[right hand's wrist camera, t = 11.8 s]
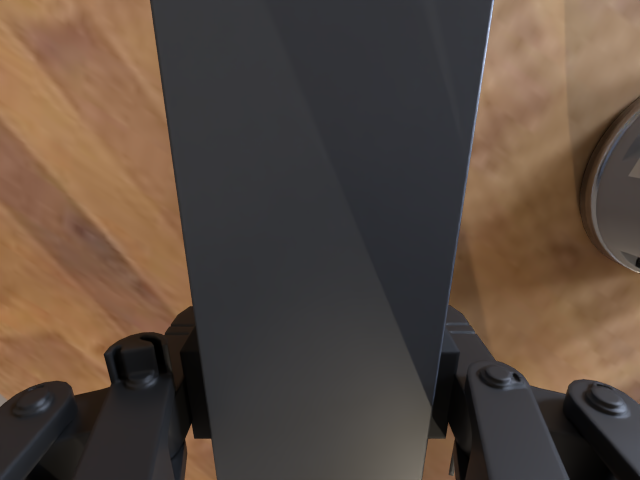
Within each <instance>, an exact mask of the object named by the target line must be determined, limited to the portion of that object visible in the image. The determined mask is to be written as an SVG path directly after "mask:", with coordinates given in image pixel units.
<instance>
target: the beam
mask: <svg viewBox="0 0 640 480" xmlns="http://www.w3.org/2000/svg"><path fill="white" fill-rule="evenodd" d="M150 3H151V10H152V18H153V25H154V32H155V39H156V46H157V53H158V61H159V68H160V75H161V82H162V89H163V96H164V103H165V111H166V118H167V125H168V132H169V139H170V146H171V154H172V161H173V168H174V175H175V182H176V189H177V196H178V204H179V211H180V218H181V225H182V232H183V239H184V247H185V254H186V261H187V268H188V275H189V282H190V289H191V297H192V304H193V311H194V318H195V325H196V332H197V340H198V347H199V354H200V361H201V368H202V375H203V383H204V390H205V397H206V404H207V411H208V418H209V425H210V433H211V440H212V447H213V454H214V461H215V468H216V476H217V480H422V476H423V469H424V462H425V456H426V449H427V442H428V436H429V429H430V422H431V416H432V409H433V402H434V396H435V389H436V383H437V376H438V369H439V363H440V356H441V349H442V343H443V336H444V329H445V323H446V316H447V310H448V303H449V296H450V290H451V283H452V276H453V270H454V263H455V256H456V250H457V243H458V236H459V230H460V223H461V217H462V210H463V203H464V197H465V190H466V183H467V177H468V170H469V163H470V157H471V150H472V143H473V137H474V130H475V124H476V117H477V110H478V104H479V97H480V90H481V84H482V77H483V70H484V64H485V57H486V51H487V44H488V37H489V31H490V24H491V17H492V11H493V4H494V0H150Z"/></svg>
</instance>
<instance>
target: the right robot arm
mask: <svg viewBox="0 0 640 480" xmlns="http://www.w3.org/2000/svg"><path fill="white" fill-rule="evenodd" d="M580 211H581V217H582V222H583V225H584V228H585V231H586V233H587V235H588V237H589V238H590V240H591V242H592V243H593V244H594V245H595V247H596V248H597V249H598V250H599V251H600V252H601V253H602V254H604V255H605V256H606V257H608V258H609V259H611V260H613V261H615V262H616V263H619V264H621V265H623V266H625V267H627V268H629V269H631V270H633V271H635V272H638V273H640V97H639V98H638V99H637V100H635V101H634V102H633V103H632V104H631V105H629V106H628V107H627V108H626V109H625V110H624V111H623V112H622V113H621V114H620V115H619V116H618V117H617V119H616V120H615V121H614V122H613V123H612V124H611V125H610V127H609V128H608V129H607V131H606V132H605V133H604V135H603V136H602V138H601V139H600V141H599V143H598V144H597V146H596V148H595V150H594V151H593V153H592V155H591V158H590V160H589V162H588V165H587V168H586V170H585V173H584V177H583V181H582V186H581V193H580ZM104 357H105V361H106V365H107V369H108V372H109V376H110V380H111V386H110V387H108V388H105V389H101V390H97V391H92V392H88V393H83V394H79V395H75V396H74V394H73V390H72V387H71V386H70V385H69V384H68V383H66V382H61V381H52V382H44V383H41V384H38V385H35V386H32V387H29V388H28V389H26V390H24V391H22V392H20V393H18V394H16V395H15V396H13V397H12V398H11V399H9V400H8V401H7V402H5V403H4V404H3V405H2V406H1V407H0V480H184V478H185V469H186V460H187V447H186V441H185V438H186V435H187V433H188V430H189V428H190V426H191V423H192V428H193V434H194V439H211V433H210V425H209V418H208V411H207V404H206V397H205V390H204V383H203V375H202V368H201V361H200V354H199V347H198V340H197V332H196V325H195V318H194V311H193V306H190V307H188V308H187V309H186V310H184V311H183V312H181V313H180V314H178V315H177V317H176V318H175V320H174V321H173V322H172V324H171V327H169V328H168V329H167V331H166V332H165V335H162V334H159V333H155V332H145V333H139V334H134V335H130V336H128V337H126V338H123V339H121V340H119V341H117V342H116V343H115V344H113V345H112V346H110V347H109V348H108V350H107V351H106V352H105V353H104ZM448 422H449V424H450V427H451V429H452V432H453V434H454V436H455V441H454V447H453V452H452V458H451V463H450V469H449V475H451V476H454V470H455V477H456V480H640V405H639V404H638V403H637V402H636V401H634V400H633V399H632V398H630V397H629V396H628V395H626V394H625V393H624V392H622V391H620V390H618V389H616V388H614V387H612V386H610V385H607V384H604V383H601V382H598V381H593V380H585V379H582V380H575V381H573V382H572V383H571V384H570V385H569V386H568V389H567V393H566V394H563V393H559V392H554V391H550V390H545V389H541V388H537V387H534V386H530V385H529V383H528V382H527V380H526V379H525V377H524V376H523V375H522V374H521V373H519V372H518V371H517V370H516V369H514V368H513V367H511V366H508V365H506V364H504V363H502V362H498V361H496V360H495V359H494V358H493V356H492V355H491V353H490V352H489V351H488V349H487V348H486V346H485V345H484V344H483V342H482V341H481V339H480V338H479V337H478V335H477V334H475V331H474V330H473V328H472V327H471V325H469V323H468V321H467V320H466V319H465V317H464V316H463V314H462V313H460V312H459V311H457V310H456V309H455V308H453V307H452V306H450V305H448V310H447V316H446V323H445V329H444V336H443V343H442V349H441V356H440V363H439V369H438V376H437V383H436V389H435V396H434V402H433V409H432V416H431V422H430V429H429V436H428V439H446V433H447V427H448Z"/></svg>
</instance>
